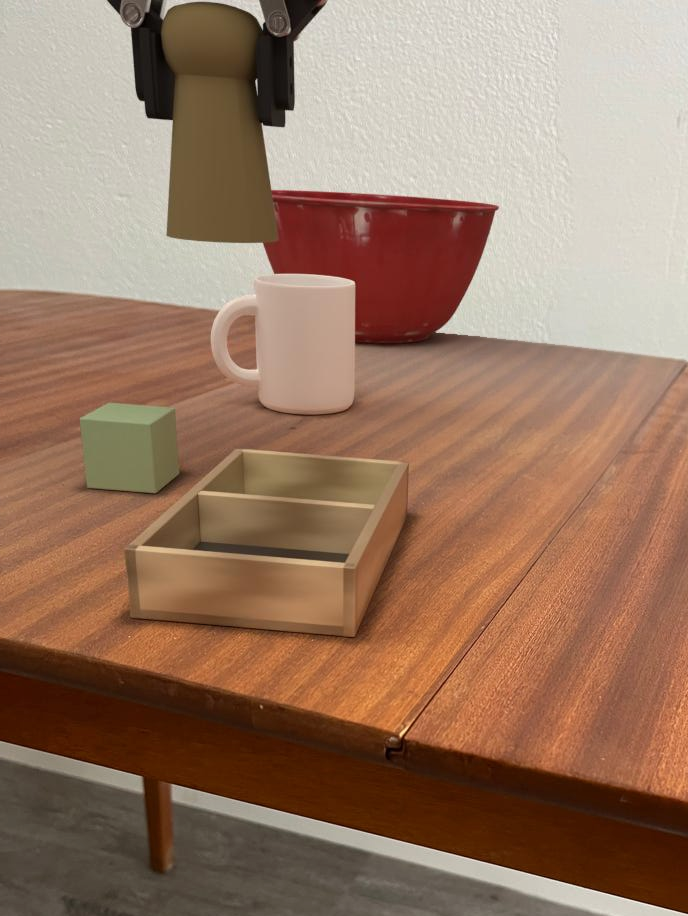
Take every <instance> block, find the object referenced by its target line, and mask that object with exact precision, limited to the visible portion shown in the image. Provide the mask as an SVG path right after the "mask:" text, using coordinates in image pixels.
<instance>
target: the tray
mask: <svg viewBox="0 0 688 916" xmlns="http://www.w3.org/2000/svg"><path fill="white" fill-rule="evenodd" d="M409 469H410V463H409V461H401V460H400V461H399V460H386V459H375V458H374V459H373V458H360V457H348V456H337V455H336V456H335V455H323V454H312V453H311V454H310V453H299V452H288V451H287V452H286V451H274V450H273V451H272V450H262V449H260V450H258V449H248V448H239V447H238V448H234V450H233V451H232V452H231V453H230V454H228V455H227V456H226V457H224V459H223V460H222V461H221V462H219V463H218V464H217V465H215V467H213V469H212V470H211V471H210V472H208V473H207V474H206V475H205V476H204V477H202V479H200V480H199V481H198V482H197V483H196V484H195V485H194V486H192V487H191V488H190V489H189V490H188V491H187V492H186V493H185V494H183V495H182V496H181V497H180V498H179V499H178V500H177V501H176V502H175V503H173V504H172V505H171V506H170V507H169V508H168V509H167V510H165V512H163V513H162V514H161V515H160V516H159V517H158V518H157V519H156V520H155V521H153V522H152V523H151V524H150V525H149V526H147V528H146V529H145V530H144V531H142V532H141V533H140V534H139V535H138V536H137V537H136V538H134V539H133V540H132V541H131V542H130V543H129V544H127V545H126V547H124V548H123V552H124V553H123V554H124V562H125V563H124V564H125V572H126V573H125V574H126V583H127V594H128V605H129V612H130V614H129V616H130V618H131V619H140V620H141V619H142V620H154V621H165V622H166V621H168V622H175V623H176V622H177V623H188V624H199V625H200V624H201V625H210V626H211V625H212V626H223V627H233V628H245V629H256V630H267V631H268V630H269V631H278V632H279V631H280V632H290V633H291V632H292V633H301V634H302V633H303V634H314V635H324V636H325V635H327V636H337V637H345V638H346V637H347V638H356V635H357V633H358V630H359V628H360V626H361V623H362V621H363V618H364V616H365V614H366V611H367V609H368V607H369V604H370V602H371V600H372V598H373V596H374V593H375V591H376V588H377V586H378V584H379V582H380V579H381V577H382V575H383V573H384V570H385V567H386V566H387V563H388V561H389V559H390V557H391V554H392V552H393V550H394V548H395V545H396V542H397V540H398V538H399V536H400V534H401V531H402V529H403V527H404V524H405V522H406V520H407V517H408V503H409V502H408V501H409V474H410V473H409V472H410V471H409Z"/></svg>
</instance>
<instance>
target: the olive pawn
mask: <svg viewBox="0 0 688 916" xmlns="http://www.w3.org/2000/svg"><path fill="white" fill-rule="evenodd" d="M259 35H263V27H262V26H261V24H260V21H259V20H258V18H257V17H256V16H255V15H253V14H252V13H251V12H249V11H247V10H244V9H241V8H239V7H237V6H233V5H229V4H227V3H222V2H215V1H214V2H213V1H192V2H190V1H189V2H185V3H181V4H176V5H173V6H172V7H170V8H168V10H167V11H166V13H165V14H164V16H163V23H162V29H161V40H162V49H163V52H164V56H165V59H166V62H167V64H168V65H169V67H170V68H171V70H172V71H173V73H174V74H175V88H174V106H173V120H172V125H171V126H172V127H171V147H170V164H169V181H168V197H167V198H168V200H167V219H166V237H169V238H171V239H178V240H183V241H195V242H206V243H207V242H208V243H224V244H225V243H227V244H261V243H262V244H263V243H267V242H275V241H278V240H279V238H278V231H277V224H276V218H275V211H274V204H273V197H272V190H273V189H272V185H271V177H270V171H269V164H268V158H267V152H266V144H265V137H264V129H263V123H260V122H259V118H258V91H257V60H256V40H257V39H259Z"/></svg>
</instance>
